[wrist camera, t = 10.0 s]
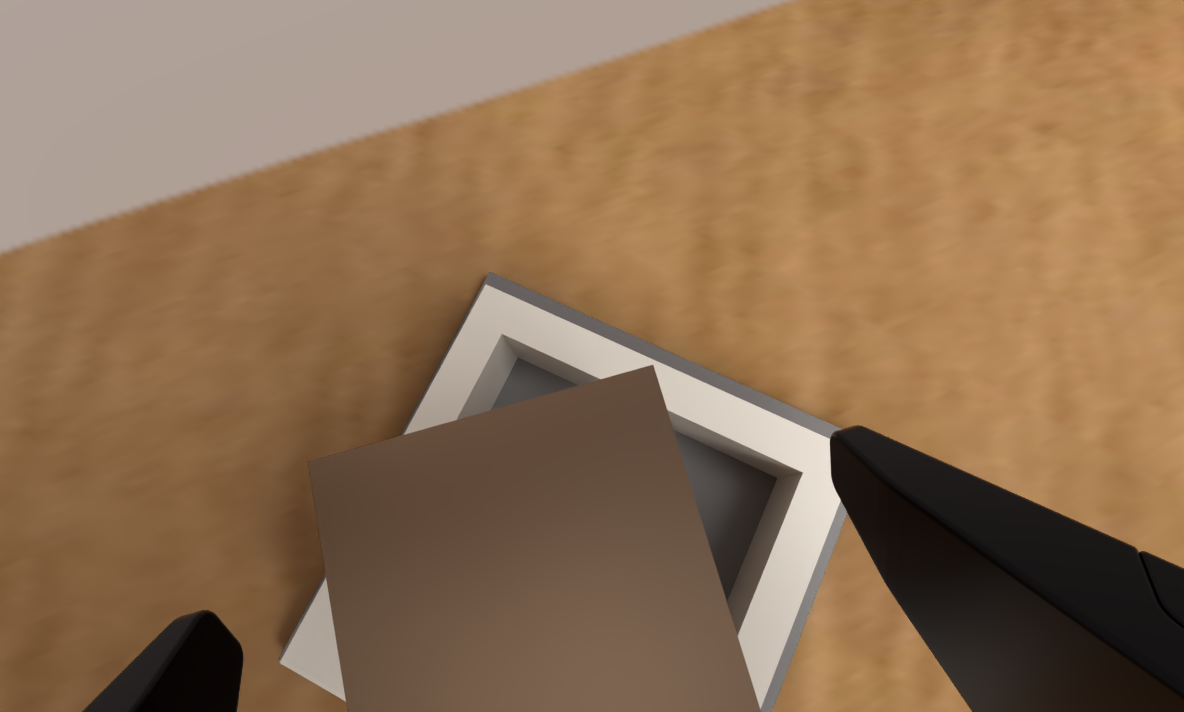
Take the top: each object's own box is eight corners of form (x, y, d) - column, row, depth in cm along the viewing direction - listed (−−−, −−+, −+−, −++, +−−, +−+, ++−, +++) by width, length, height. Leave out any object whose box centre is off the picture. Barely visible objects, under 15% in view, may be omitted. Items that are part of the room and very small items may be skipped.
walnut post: (684, 609, 16) (773, 750, 7) (521, 656, 16) (372, 870, 7) (636, 446, 17) (653, 364, 8) (483, 489, 17) (307, 462, 8)
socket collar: (866, 445, 18) (915, 431, 15) (696, 891, 15) (713, 981, 12) (493, 277, 19) (470, 236, 16) (288, 655, 17) (218, 684, 14)
